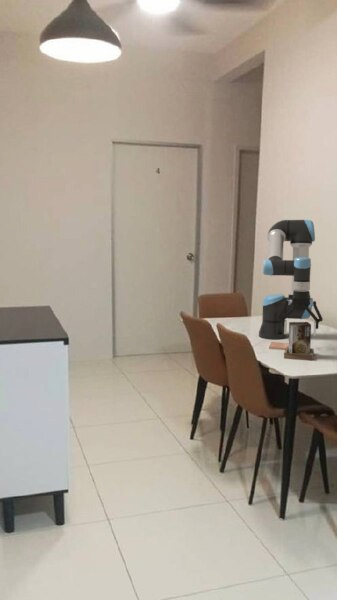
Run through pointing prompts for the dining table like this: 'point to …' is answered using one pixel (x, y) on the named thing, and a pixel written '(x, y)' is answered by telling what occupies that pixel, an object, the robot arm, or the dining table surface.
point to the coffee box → (299, 337)
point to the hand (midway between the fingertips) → (299, 334)
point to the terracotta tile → (278, 345)
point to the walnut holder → (298, 355)
